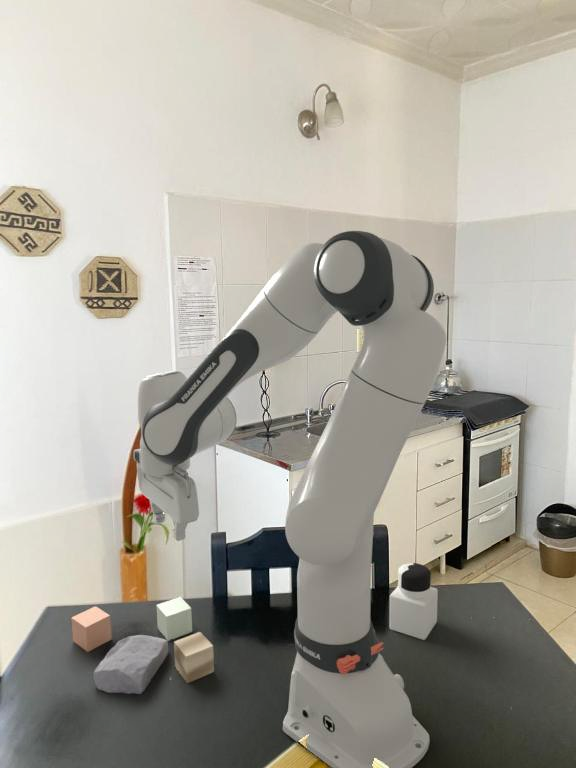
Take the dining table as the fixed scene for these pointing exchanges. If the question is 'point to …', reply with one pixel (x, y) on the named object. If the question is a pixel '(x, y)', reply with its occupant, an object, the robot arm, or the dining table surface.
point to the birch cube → (194, 657)
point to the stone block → (131, 664)
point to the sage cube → (174, 618)
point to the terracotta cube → (91, 628)
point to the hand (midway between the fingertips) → (168, 530)
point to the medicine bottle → (413, 602)
